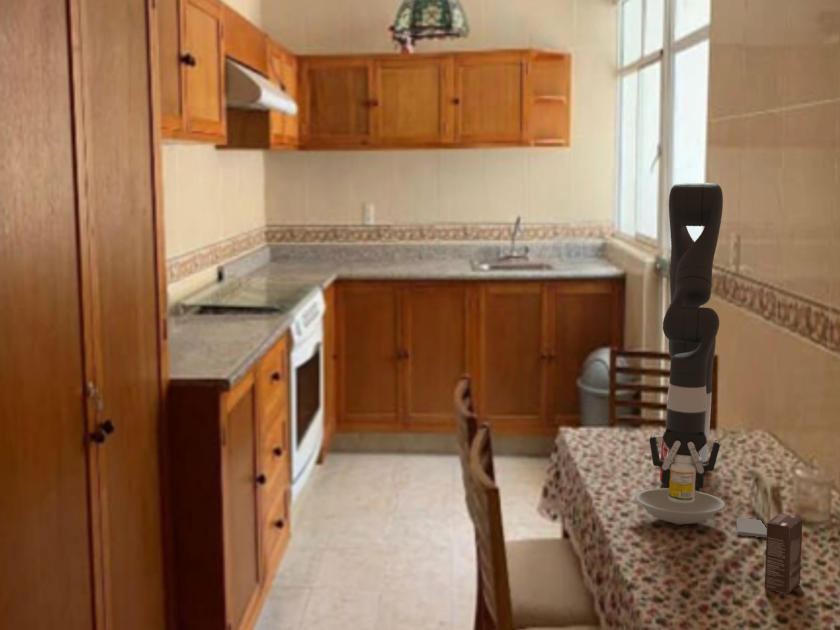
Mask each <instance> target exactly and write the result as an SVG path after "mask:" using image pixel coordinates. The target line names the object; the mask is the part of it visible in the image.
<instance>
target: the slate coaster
mask: <svg viewBox="0 0 840 630" xmlns="http://www.w3.org/2000/svg"><path fill="white" fill-rule="evenodd" d="M736 535H737V536H739V535H741V537H748V536H758V537H764V538H763V539H766V538H767V528H766V527H765V525H764V524H763V523H762V521H761V519H753V518H744V517H743V518H742V517H736ZM765 537H766V538H765Z"/></svg>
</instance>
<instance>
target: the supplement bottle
mask: <svg viewBox="0 0 840 630" xmlns="http://www.w3.org/2000/svg"><path fill="white" fill-rule="evenodd" d="M674 460H675V461H674V462H672V463H671V464H670V469H669V487H668V498H669V499H670V500H671V501H673V502H676V503H683V504H687V503H692V502H694V501H695V493H696V477H697V468H696V465H695V464H694V463H693V462H694V460H693V458H692V456H688V455H678V454H675V456H674Z"/></svg>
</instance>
